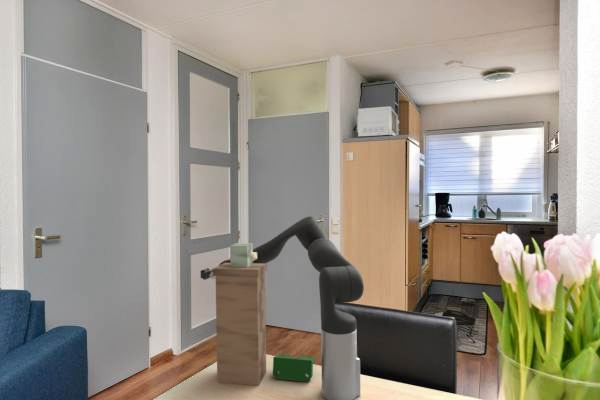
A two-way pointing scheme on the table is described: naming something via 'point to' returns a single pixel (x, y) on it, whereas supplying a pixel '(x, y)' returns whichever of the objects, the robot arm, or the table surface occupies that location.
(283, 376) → the green box
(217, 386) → the table surface
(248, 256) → the mint and tan block
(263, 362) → the tool tower
